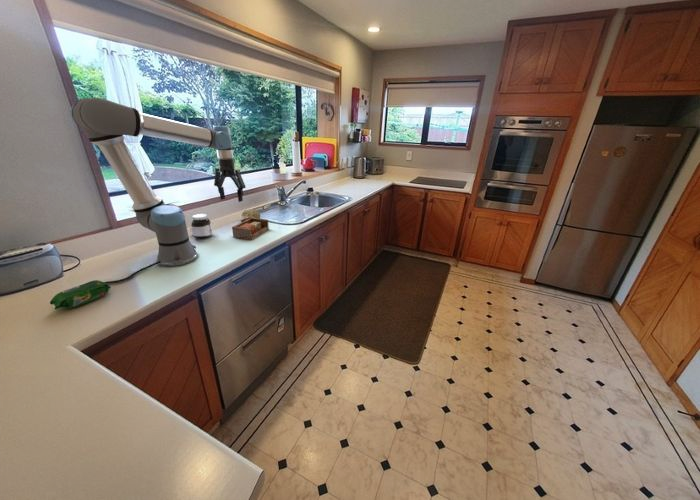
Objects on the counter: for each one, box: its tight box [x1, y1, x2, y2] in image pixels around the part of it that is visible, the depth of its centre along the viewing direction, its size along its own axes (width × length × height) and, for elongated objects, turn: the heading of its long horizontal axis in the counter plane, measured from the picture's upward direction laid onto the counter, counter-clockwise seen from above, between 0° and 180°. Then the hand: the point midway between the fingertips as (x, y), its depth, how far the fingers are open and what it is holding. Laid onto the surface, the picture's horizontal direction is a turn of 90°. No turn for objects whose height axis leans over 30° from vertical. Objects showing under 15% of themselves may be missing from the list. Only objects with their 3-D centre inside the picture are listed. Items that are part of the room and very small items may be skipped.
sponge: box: [240, 208, 261, 223], centre depth 176 cm, size 13×8×20 cm
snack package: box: [49, 279, 112, 310], centre depth 94 cm, size 7×16×5 cm, turn 153°
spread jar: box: [189, 213, 213, 240], centre depth 150 cm, size 12×11×12 cm
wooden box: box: [231, 218, 270, 241], centre depth 158 cm, size 18×11×6 cm, turn 164°
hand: (231, 200), depth 154 cm, fingers open, 11 cm apart
